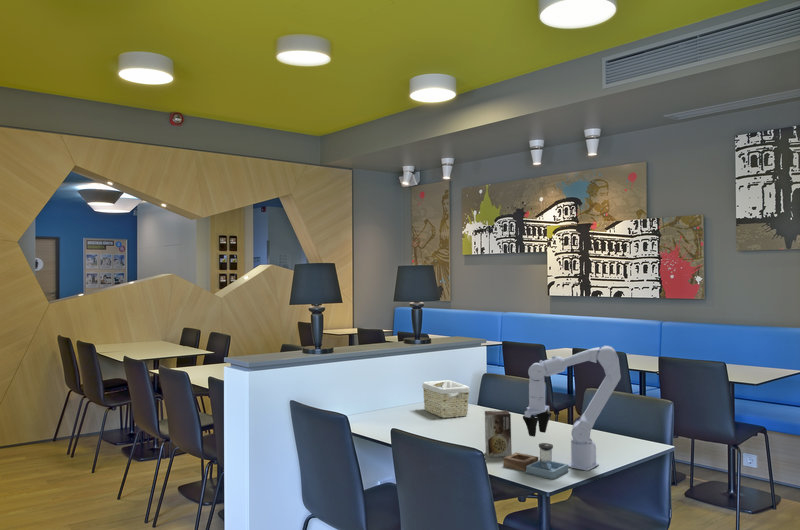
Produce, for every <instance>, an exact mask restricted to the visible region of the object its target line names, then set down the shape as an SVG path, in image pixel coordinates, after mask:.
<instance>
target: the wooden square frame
mask: <svg viewBox="0 0 800 530" xmlns="http://www.w3.org/2000/svg"><path fill="white" fill-rule="evenodd" d="M502 459H503V460H502V462H503V463H502V464H503V465H502V466H503V467H505V468H508V469H509V468H510V469H514V470H518V471H521V472H522V471H524V472H526V466H528V465H530V464H532V463H535V462H537V461H539V456H537V455H536V456H535V455H530V454H526V453H521V452H517V451H516V452H513V453H512V454H511V455H509V456H503V458H502Z"/></svg>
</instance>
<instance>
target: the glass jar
mask: <svg viewBox="0 0 800 530" xmlns="http://www.w3.org/2000/svg"><path fill="white" fill-rule="evenodd" d="M538 447H539V460H540V469H544V470H549V471H552V461H553V458H552V457H553V454H552V453H553V449H554V445H553V444H552V443H547V442H541V443H538Z"/></svg>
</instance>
